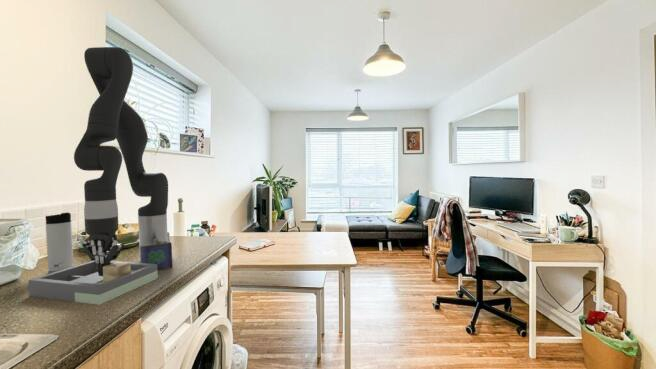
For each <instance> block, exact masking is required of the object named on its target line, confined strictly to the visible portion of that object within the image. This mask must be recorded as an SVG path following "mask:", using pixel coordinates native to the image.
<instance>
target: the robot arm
mask: <svg viewBox="0 0 656 369" xmlns="http://www.w3.org/2000/svg"><path fill="white" fill-rule="evenodd" d="M83 59H84V62H85V66H86V68H87V69H86V70H87V71H88V73H89V75H90V78H91V79H92V81H93V84H94V86H95V88H96V90H97V93H98V97H97V98H96V100H95V101H94V102H93V104H92V105H91V107H90V110H89V113H88V118H87V127H86V130H85V132H84V134H83V135H82V138H81V139H80V141H79V143H78V144H77V146H76V147H75V150H74V152H73V160H74V164H75V165H76V167H77V168H78V169H80V170H82V171H86V172H87V171H88V172H91V171H92V172H93V171H96V172H97V171H98V172H99V171H100V172H101V171H103V172H102V174H101V175H100V176H99V177H97V178H94V179H89V180H86V181H85V182H84V185H83V186H84V188H83V189H84V190H83V192H84V206H83V211H84V212H83V213H84V214H83V216H84V233H85V234H86V235H88V241H86V242H84V243H82V244H81V246H82V248H83V250H84V251H85V253H86V254H87V256H88V258H89V260H90V261H96V263H97V264H98V273H99V276H103V266H106V265H110V262H111V261H116V260H117V258H118V257H119V255H120V254H121V252H122V250H123V248H124V247H125V244H124V242H123V243H121V242H118V237H117V235H116V232H117V231H119V226H120V225H119V208H118V202H117V187H116V186H117V181H118V177H119V173H120V170H121V166H122V165H123V164H122V163H123V162H124V164H125V168H126V172H127V176H128V180H129V181H128V182H129V185H130V187H131V190H132V192H133V194H135V196H138V197H139V198H140V197H141V198H143V197H144V198H145V197H146V198H147V197H148V198H150V201H149V203H148V204H146V205H144V206H141V207H139V208H138V210H137V219H138V220H137V221H138V243H139V245H138V246H139V249H140V246H141V245H145V244H154V241H153V240H154V239H155V238H158V241H160V242H161V241H163V242H164V241H166V242H171V241H170V240H171V238H170V232H169V231H168V217H167V214H168V213H167V210H168V205H169V180H168V178H167V175H166V174H164V173H163V172H156V171H154V172H151V171H150V172H148V171H147V172H146V170H145V167H144V164H143V155H144V152H145V150H146V147H147V144H148V142H149V141H148V139H149V137H148V132H147V129H146V125H145V123H144V122H145V121H143V118H142V116H141V115H140V113H138V112H137V110H135V108H134V107H132V105H130V104H129V103H128V102H127V101H126V100H125V99H126V95H127V92H128V89H129V86H130V83H131V81H132V77H133V73H134V64H133V60H132V56H131V55H130V54H129V52H128V51H127V50H126V49H124V48H123V47H116V46H114V47H113V46H105V47H102V46H99V47H97V46H95V47H87V48H86V50H84V58H83ZM115 140H116V141H117V143H118V146H119V149H120V150H119V149H118V148H117V147H116V146H113V145H102V144H104V143H108V142H114V141H115ZM139 263H141V252H140V251H139Z"/></svg>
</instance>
